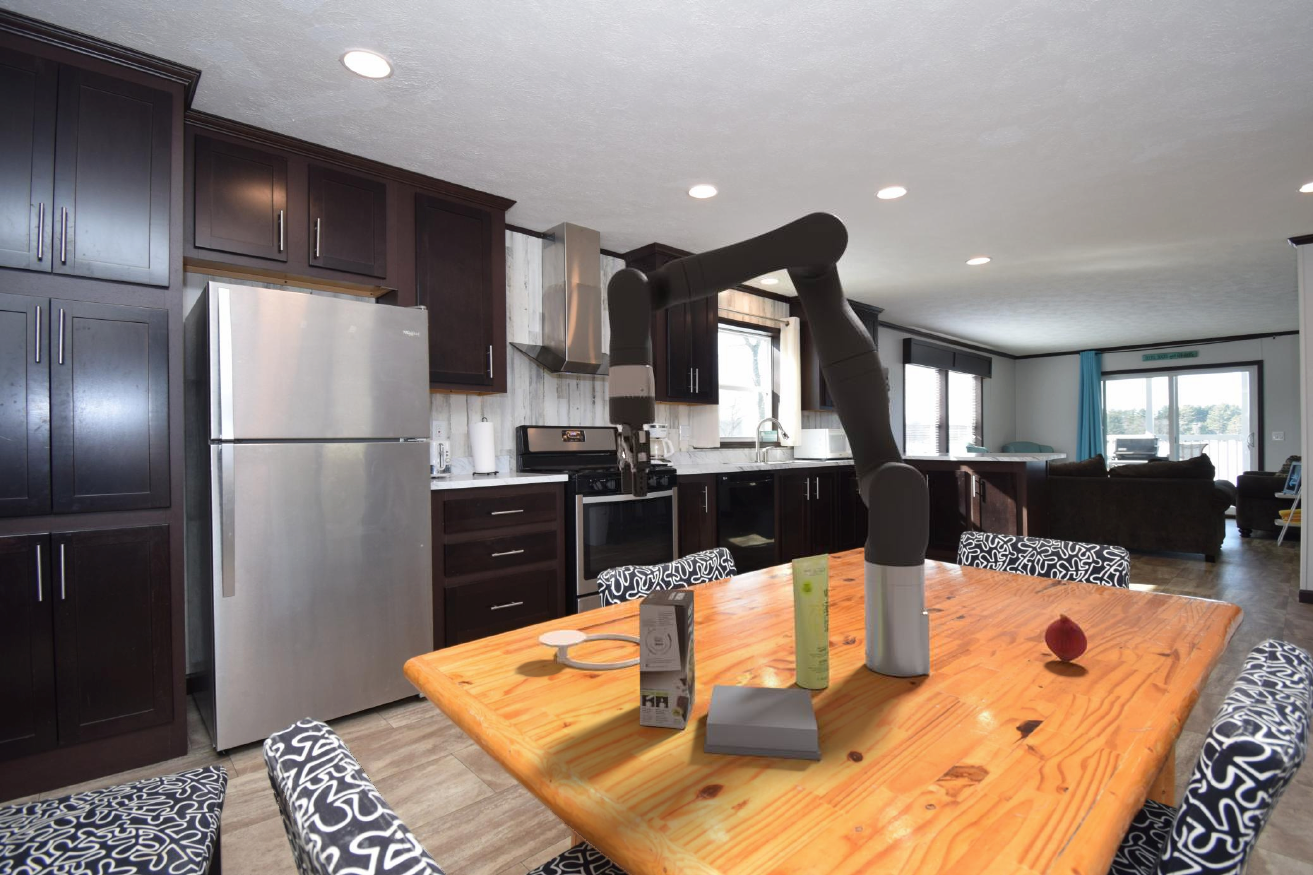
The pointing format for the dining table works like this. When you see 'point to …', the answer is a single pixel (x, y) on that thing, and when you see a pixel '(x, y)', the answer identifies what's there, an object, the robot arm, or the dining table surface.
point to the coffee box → (667, 658)
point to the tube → (811, 620)
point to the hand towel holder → (573, 638)
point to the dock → (762, 722)
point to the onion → (1065, 639)
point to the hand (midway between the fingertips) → (633, 494)
